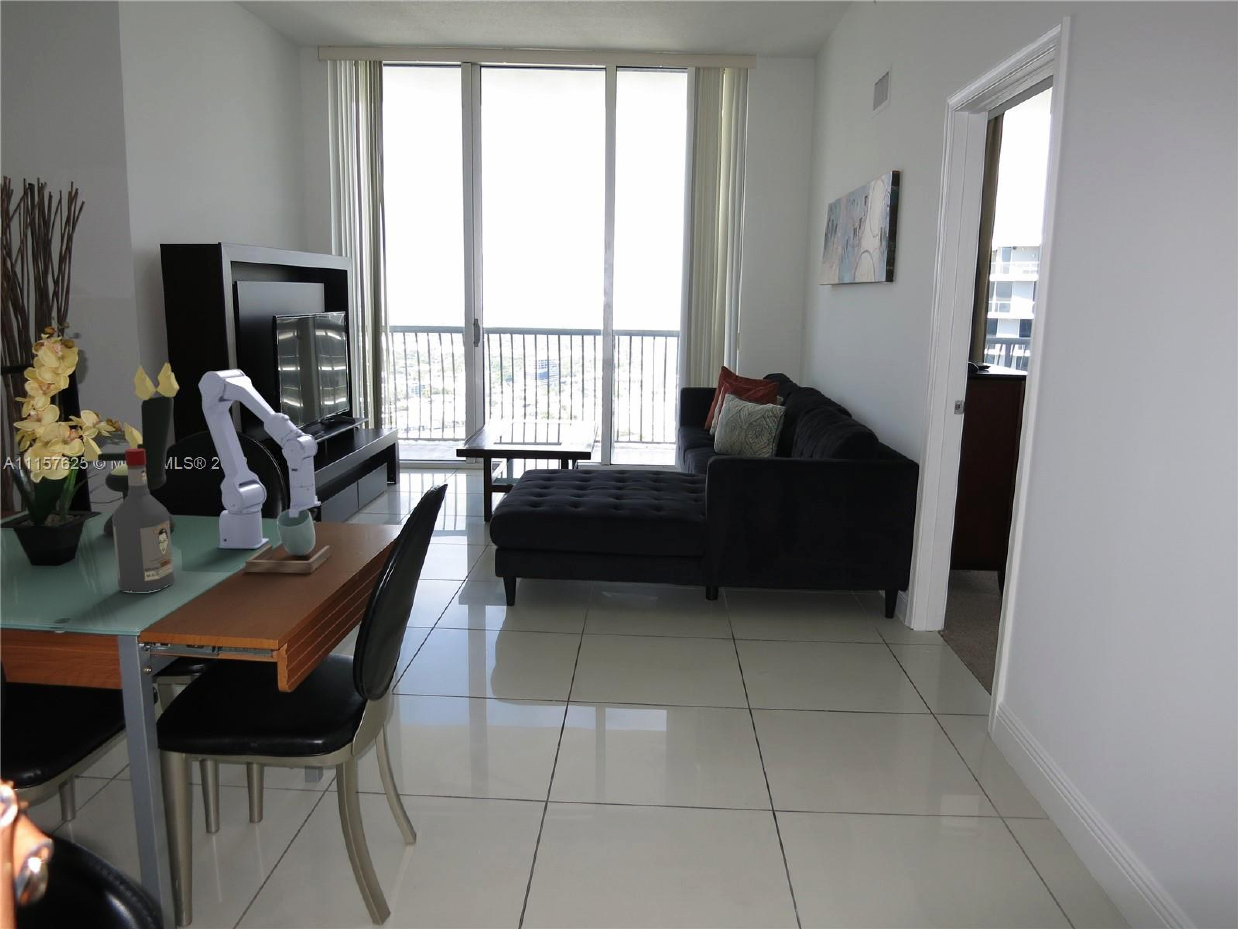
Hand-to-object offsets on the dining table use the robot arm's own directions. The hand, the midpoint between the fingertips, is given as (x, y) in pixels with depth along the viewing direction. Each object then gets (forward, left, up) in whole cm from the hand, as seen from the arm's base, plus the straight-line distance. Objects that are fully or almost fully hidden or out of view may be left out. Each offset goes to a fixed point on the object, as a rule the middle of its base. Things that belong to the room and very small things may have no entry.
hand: (305, 538), depth 216 cm
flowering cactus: (-46, +14, -3) cm, 49 cm away
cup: (0, -3, -2) cm, 4 cm away
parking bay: (0, -10, -3) cm, 10 cm away
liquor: (-24, -29, -3) cm, 38 cm away
